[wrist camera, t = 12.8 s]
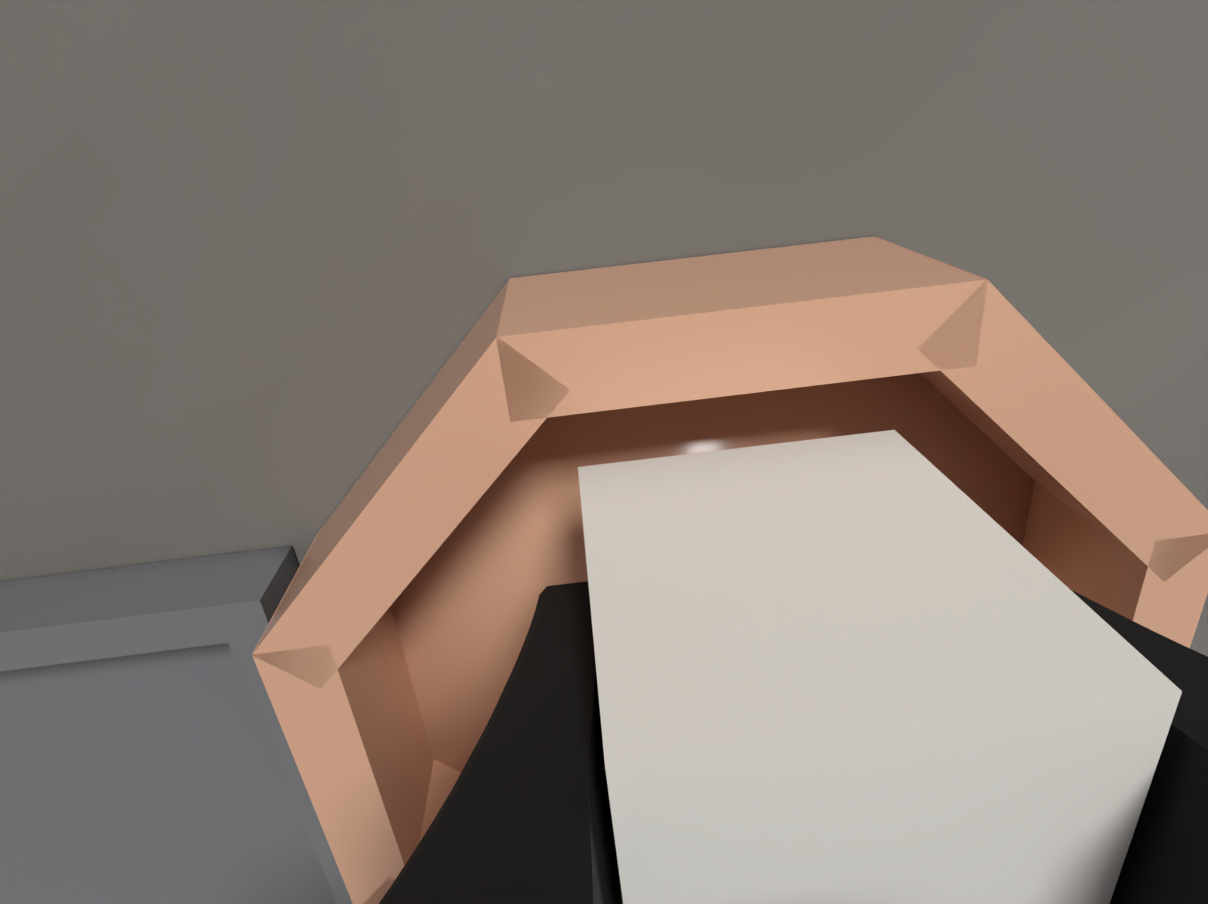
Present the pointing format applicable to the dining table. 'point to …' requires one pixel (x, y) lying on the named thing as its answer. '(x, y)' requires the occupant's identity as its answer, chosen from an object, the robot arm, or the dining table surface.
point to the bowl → (659, 429)
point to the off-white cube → (852, 688)
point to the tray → (151, 741)
